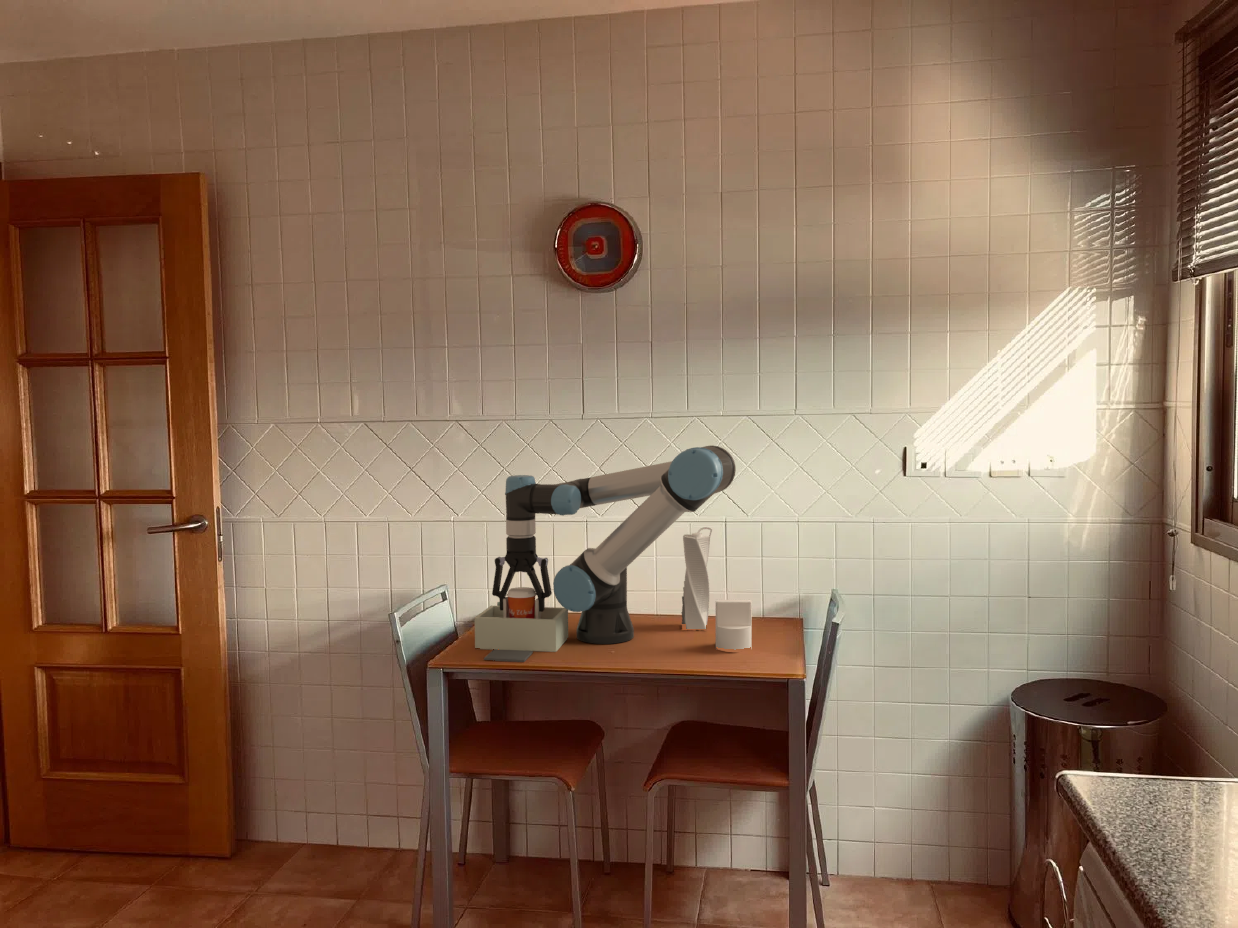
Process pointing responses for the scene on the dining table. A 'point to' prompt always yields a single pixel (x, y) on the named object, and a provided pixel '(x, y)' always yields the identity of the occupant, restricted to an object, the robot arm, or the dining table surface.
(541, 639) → the crate
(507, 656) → the mat
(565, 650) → the dining table surface
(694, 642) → the dining table surface
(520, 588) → the paper cup
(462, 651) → the dining table surface
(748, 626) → the base with upright slab
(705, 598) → the skyscraper
